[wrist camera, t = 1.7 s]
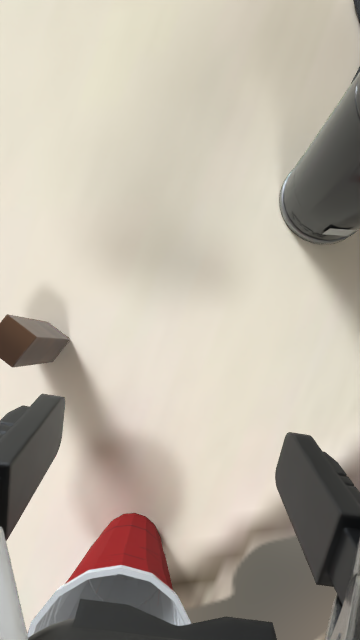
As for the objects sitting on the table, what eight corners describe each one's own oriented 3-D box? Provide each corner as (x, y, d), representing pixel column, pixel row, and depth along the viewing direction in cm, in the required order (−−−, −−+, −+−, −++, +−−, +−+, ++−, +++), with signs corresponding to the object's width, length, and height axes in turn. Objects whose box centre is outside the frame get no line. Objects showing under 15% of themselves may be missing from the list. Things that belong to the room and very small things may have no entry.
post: (47, 321, 32) (6, 313, 25) (70, 339, 32) (36, 337, 24) (29, 344, 32) (-18, 344, 24) (52, 362, 32) (12, 368, 24)
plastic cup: (181, 607, 30) (187, 776, 18) (71, 595, 30) (4, 757, 18) (194, 492, 31) (206, 581, 19) (86, 480, 31) (32, 563, 19)
